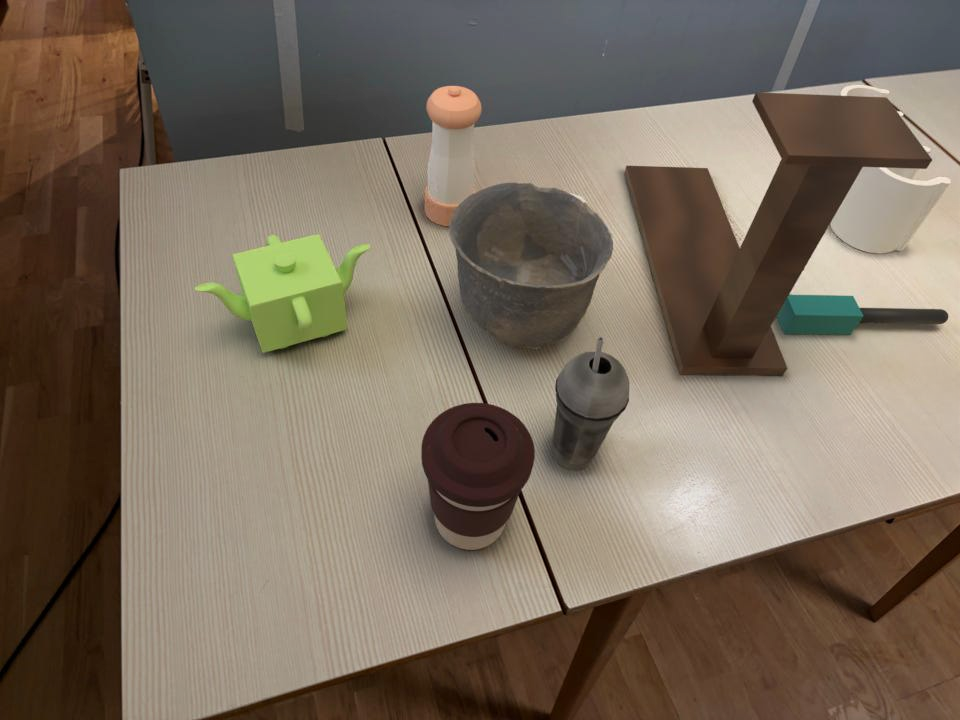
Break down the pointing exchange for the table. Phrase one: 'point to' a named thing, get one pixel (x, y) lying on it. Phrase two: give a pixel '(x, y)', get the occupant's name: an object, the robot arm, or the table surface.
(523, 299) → the bowl
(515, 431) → the coffee cup
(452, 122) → the pepper shaker
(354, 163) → the table surface
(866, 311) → the teal block with handle
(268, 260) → the teapot
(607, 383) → the beverage cup
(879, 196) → the white rounded piece
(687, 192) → the headphone stand
